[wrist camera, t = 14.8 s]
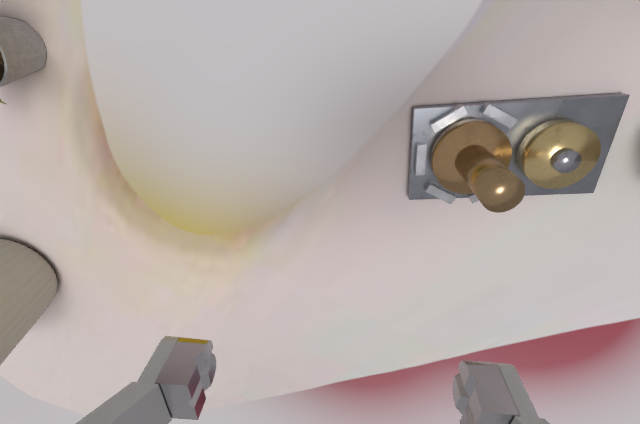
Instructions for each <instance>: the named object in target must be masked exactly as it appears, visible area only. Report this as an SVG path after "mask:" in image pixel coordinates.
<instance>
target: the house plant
mask: <svg viewBox="0 0 640 424" xmlns="http://www.w3.org/2000/svg"><path fill="white" fill-rule="evenodd" d="M46 55H47V53H46V47H45V44H44V42H43V40H42V39H41V37H40V36H39V34H38V33H37V32H36V31H35V30H34V29H33V28H32V27H31V26H30V25H28V24H27V23H25V22H23V21H21V20H18V19H14V18H8V17H3V16H0V87H1V86H4V85H6V84H8V83H10V82H13V81H15V80H17V79H19V78H22V77H24V76H26V75H29V74H31V73H33V72H35V71H38V70H40V69H42V68H43V67H44V66H45V64H46ZM0 102H1V103H4V102H2V101H1V99H0ZM5 104H6V103H5Z"/></svg>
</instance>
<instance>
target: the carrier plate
mask: <svg viewBox="0 0 640 424" xmlns="http://www.w3.org/2000/svg"><path fill="white" fill-rule="evenodd" d="M628 98H629V95H627V94H624V93H609V94H594V95H579V96H563V97H548V98H533V99H518V100H502V101H487V102H472V103H457V104H442V105H426V106H413V108H412V126H411V144H410V162H409V180H408V198H409V200H413V199H442V200H444V201H446V202H448V203H450V204H451V203H452V202H453V201H454V200H455V198H468V197H469V198H470V200H471V202H472V203H474V202H476V201H478V200H479V199H478V198H477V196H476V195H475V194H474V193H472V194H459V193H454V192H451V191H449V190H447V189H446V188H444V187H443V186H442V185H441V184H440V183H439V181H438V180H437V178H436V176H435V175H434V173H433V171H432V169H431V166H430V152H431V148H432V146H433V144H434V142H435V140H436V139H437V137H438V136H439V135H440V134H441V133H442V132H443V131H444V130H445V129H446V128H447V127H449V126H450V125H452V124H454V123H456V122H459V121H462V120H466V119H481V120H485V121H488V122H490V123H491V124H493V125H494V126H496V127H497V128H499V129H500V130H501V131H503V132H504V133H505V134H506V136H507V137H508V139H509V141H510V143H511V148H512V156H511V161H510V164H509V166H508V169H510V170H511V171H512V172H513V173H514V174H515V175H516V176H517V177H518V178H520V179H521V180H522V181H523V183H524V185H525V194H524V195H551V194H578V193H593V192H594V190H595V187H596V184H597V182H598V179H599V176H600V174H601V171H602V168H603V165H604V163H605V160H606V157H607V155H608V152H609V149H610V147H611V144H612V141H613V138H614V136H615V133H616V130H617V128H618V125H619V122H620V120H621V117H622V114H623V111H624V109H625V106H626V103H627V101H628Z"/></svg>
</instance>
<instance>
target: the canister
mask: <svg viewBox="0 0 640 424" xmlns="http://www.w3.org/2000/svg"><path fill="white" fill-rule="evenodd" d="M57 285H58V284H57V278H56V274H55V273H54V270H53V269H52V268H51V265H49V264H48V263H47V261H46V260H45V259H44V258H43V257H42V256H40V255H39V254H38V253H37V252H35V251H33V250H32V249H30V248H28V247H26V246H25V245H21V244H20V243H16V242H14V241H8V240H6V239H0V365H1V364H2V362H3V361H4V360H5V359H6V358H7V356H8V355H9V354H10V353H11V351H12V350H13V349H14V348H15V347H16V345H17V344H18V343H19V342H20V341H21V339H22V338H23V337H24V336H25V335H26V333H27V332H28V331H29V330H30V329H31V327H32V326H33V325H34V324H35V322H36V321H37V320H38V319H39V317H40V316H41V315H42V313H43V312H44V311H45V310H46V308H47V307H48V306H49V304H50V303H51V302H52V300H53V298H54V296H55V294H56V291H57Z"/></svg>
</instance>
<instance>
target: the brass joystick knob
mask: <svg viewBox="0 0 640 424" xmlns="http://www.w3.org/2000/svg"><path fill="white" fill-rule="evenodd" d="M511 156H512V148H511V143H510V141H509V139H508V137H507V136H506V134H505V133H504V132H503V131H501V130H500V129H499V128H497V127H496V126H494V125H493V124H491V123H490V122H488V121H485V120H481V119H466V120H462V121H459V122H456V123H454V124H452V125H450V126H449V127H447V128H446V129H445V130H444V131H443V132H442V133H441V134H440V135H439V136H438V137H437V139H436V140H435V142H434V144H433V146H432V148H431V152H430V166H431V169H432V171H433V173H434V175H435V176H436V178H437V180H438V181H439V183H440V184H441V185H442V186H443V187H444V188H446V189H447V190H449V191H451V192H454V193H459V194H472V193H474V194H475V195H476V196H477V198H478V199H479V200H480V202H481V203H482V204H483V206H484V207H485V208H486V209H488V210H489V211H492V212H505V211H508V210H510V209H512V208H514V207H515V206H517V205H518V204H519V203H520V202H521V200H522V199H523V197H524V194H525V185H524V183H523V181H522V180H521V179H520V178H518V177H517V176H516V175H515V174H514V173H513V172H512V171H511V170H510V169H508V166H509V164H510V161H511Z"/></svg>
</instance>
